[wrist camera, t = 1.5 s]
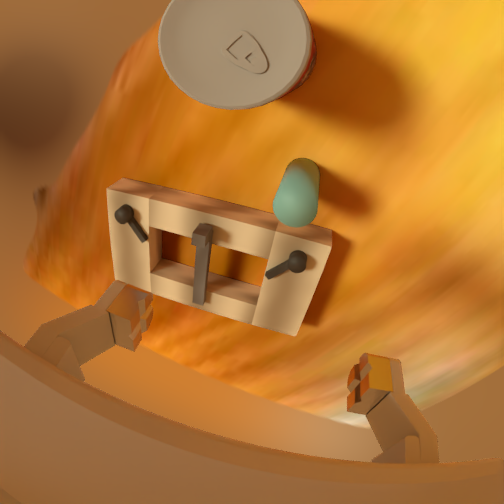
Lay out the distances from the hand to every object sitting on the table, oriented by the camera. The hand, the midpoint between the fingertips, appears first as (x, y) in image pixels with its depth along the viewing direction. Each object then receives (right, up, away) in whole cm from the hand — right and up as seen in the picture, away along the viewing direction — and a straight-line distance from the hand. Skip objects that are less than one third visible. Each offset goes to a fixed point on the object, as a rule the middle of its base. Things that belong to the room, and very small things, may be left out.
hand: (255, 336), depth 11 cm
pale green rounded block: (+4, +10, +15) cm, 19 cm away
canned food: (+1, +19, +10) cm, 22 cm away
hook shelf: (-4, +3, +22) cm, 22 cm away
